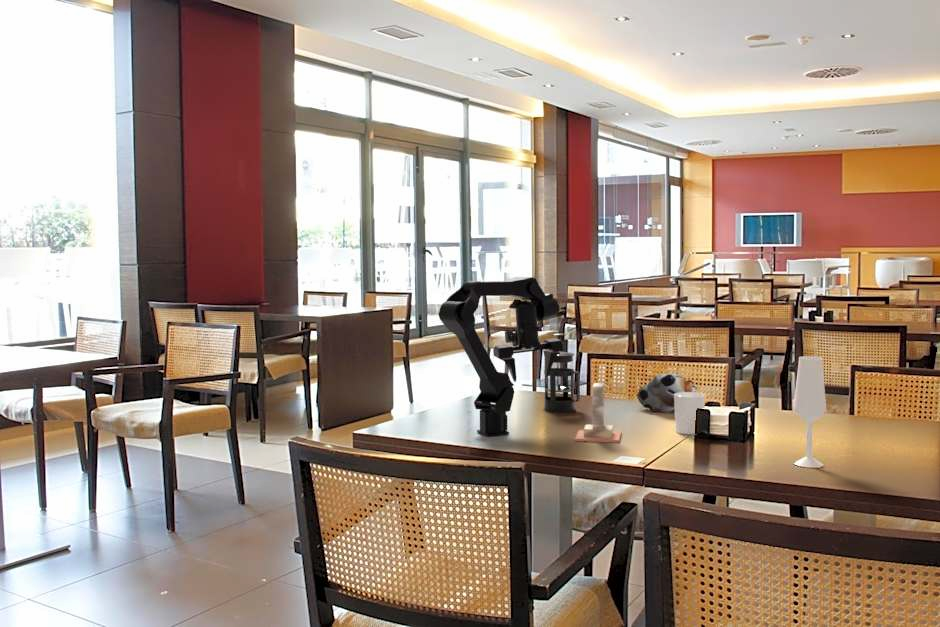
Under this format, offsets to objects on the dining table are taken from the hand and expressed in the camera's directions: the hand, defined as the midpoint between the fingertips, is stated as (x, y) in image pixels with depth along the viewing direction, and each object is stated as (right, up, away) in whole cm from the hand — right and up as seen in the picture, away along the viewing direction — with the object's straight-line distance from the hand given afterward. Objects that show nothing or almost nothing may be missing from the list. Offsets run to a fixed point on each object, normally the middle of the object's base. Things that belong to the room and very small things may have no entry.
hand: (530, 379), depth 243 cm
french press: (+11, -11, +24) cm, 28 cm away
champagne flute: (+59, -16, -46) cm, 76 cm away
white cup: (+41, -13, -10) cm, 44 cm away
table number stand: (+16, -13, -15) cm, 26 cm away
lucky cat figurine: (+42, -11, +22) cm, 48 cm away
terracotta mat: (+16, -14, -15) cm, 26 cm away
